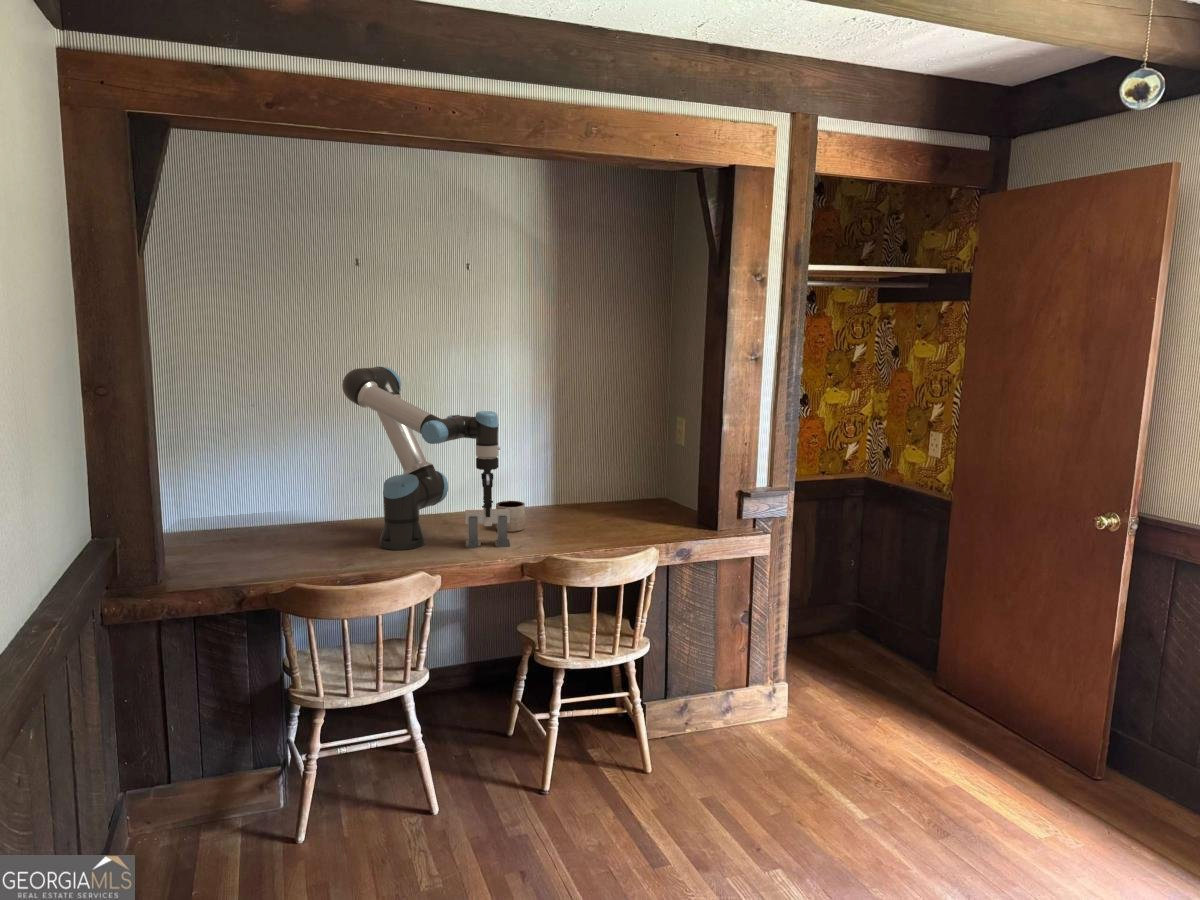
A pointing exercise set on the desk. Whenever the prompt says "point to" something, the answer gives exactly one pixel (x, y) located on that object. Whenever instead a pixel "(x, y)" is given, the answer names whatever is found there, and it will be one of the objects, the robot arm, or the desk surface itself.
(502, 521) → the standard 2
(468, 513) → the rail
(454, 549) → the desk surface
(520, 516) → the planter
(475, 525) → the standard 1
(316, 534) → the desk surface
